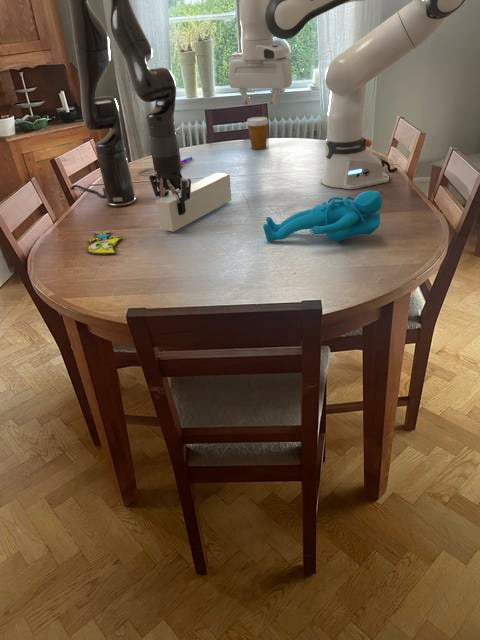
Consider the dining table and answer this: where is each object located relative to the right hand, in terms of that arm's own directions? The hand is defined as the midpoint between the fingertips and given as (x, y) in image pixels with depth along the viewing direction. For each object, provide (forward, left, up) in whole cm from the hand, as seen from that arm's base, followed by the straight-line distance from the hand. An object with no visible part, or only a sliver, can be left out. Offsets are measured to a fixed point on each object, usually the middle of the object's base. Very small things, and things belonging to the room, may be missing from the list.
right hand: (260, 104), depth 142 cm
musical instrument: (+32, -50, -28) cm, 66 cm away
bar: (+23, +10, -27) cm, 37 cm away
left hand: (+30, +17, -23) cm, 41 cm away
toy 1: (+51, +22, -28) cm, 62 cm away
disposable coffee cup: (-10, -66, -28) cm, 73 cm away
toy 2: (-7, +38, -28) cm, 48 cm away
